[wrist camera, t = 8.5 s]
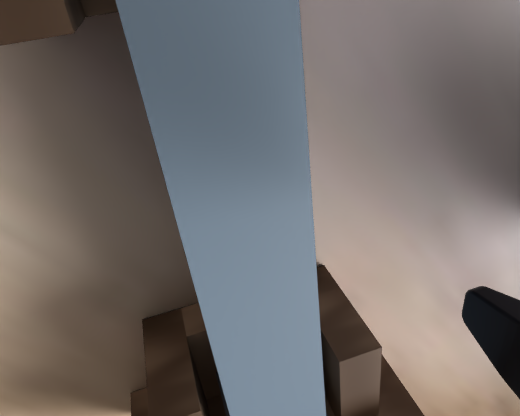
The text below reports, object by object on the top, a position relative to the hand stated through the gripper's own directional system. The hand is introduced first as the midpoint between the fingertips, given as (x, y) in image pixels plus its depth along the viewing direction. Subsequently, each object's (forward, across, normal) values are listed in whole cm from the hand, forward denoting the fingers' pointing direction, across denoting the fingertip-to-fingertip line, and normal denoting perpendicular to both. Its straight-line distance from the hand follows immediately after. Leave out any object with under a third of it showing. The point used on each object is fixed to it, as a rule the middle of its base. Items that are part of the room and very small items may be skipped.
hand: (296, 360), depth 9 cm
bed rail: (+8, 0, 0) cm, 9 cm away
